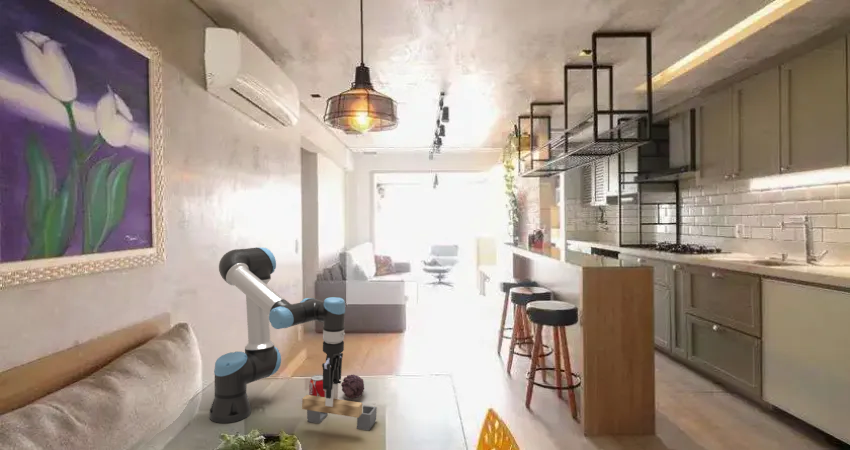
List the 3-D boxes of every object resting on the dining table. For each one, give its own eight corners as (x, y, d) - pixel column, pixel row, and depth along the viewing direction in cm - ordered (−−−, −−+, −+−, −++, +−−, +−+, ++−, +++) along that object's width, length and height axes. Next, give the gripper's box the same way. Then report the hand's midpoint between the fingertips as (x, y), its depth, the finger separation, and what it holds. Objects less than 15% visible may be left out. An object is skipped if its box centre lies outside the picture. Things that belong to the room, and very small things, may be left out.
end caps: (306, 421, 185) (307, 406, 184) (315, 413, 191) (315, 398, 191) (370, 430, 179) (370, 414, 179) (376, 422, 186) (376, 406, 186)
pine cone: (360, 407, 198) (361, 383, 198) (336, 406, 198) (337, 383, 198) (366, 390, 216) (367, 368, 215) (344, 389, 216) (345, 367, 215)
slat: (302, 409, 176) (302, 398, 176) (306, 405, 180) (306, 394, 179) (358, 417, 172) (358, 406, 171) (361, 413, 175) (362, 402, 175)
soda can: (322, 410, 195) (322, 381, 194) (305, 408, 196) (306, 379, 195) (329, 403, 201) (329, 375, 201) (313, 401, 203) (313, 373, 202)
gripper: (333, 348, 165) (331, 414, 167) (351, 335, 181) (349, 395, 183) (313, 346, 167) (311, 411, 168) (333, 333, 183) (331, 393, 184)
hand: (331, 403), depth 175 cm, fingers closed on slat, 3 cm apart
